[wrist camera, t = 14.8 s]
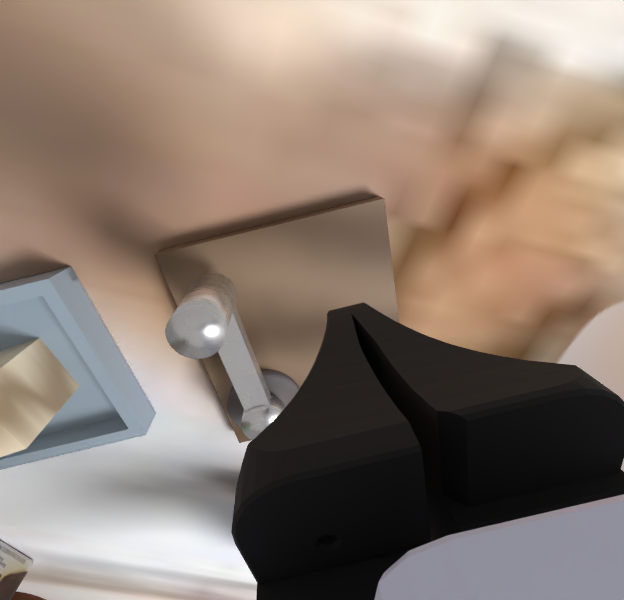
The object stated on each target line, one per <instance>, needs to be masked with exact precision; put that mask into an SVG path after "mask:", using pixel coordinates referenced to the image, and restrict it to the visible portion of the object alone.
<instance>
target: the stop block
mask: <svg viewBox="0 0 624 600" xmlns="http://www.w3.org/2000/svg"><path fill="white" fill-rule="evenodd" d="M78 388H79V385H78V383H77V382H76V381H75V380H74V379H73V377H72V376H71V375H70V374H69V372H68V371H67V370H66V369H65V368H64V366H63V365H62V364H61V363H60V362H59V360H58V359H57V358H56V357H55V356H54V354H53V353H52V352H51V351H50V349H49V348H48V347H47V346H46V345H45V343H44V342H43V341H42V340H41V339H40V338H37V339H34V340H31V341H29V342H26V343H23V344H20V345H17V346H14V347H11V348H8V349H5V350H2V351H0V457H3V456H6V455H9V454H12V453H15V452H18V451H21V450H24V449H27V448H28V446H29V445H30V444H31V443H32V442H33V440H34V439H35V438H36V437H37V436H38V435H39V433H40V432H41V431H42V430H43V429H44V428H45V426H46V425H47V424H48V423H49V422H50V420H51V419H52V418H53V417H54V416H55V415H56V413H57V412H58V411H59V410H60V409H61V408H62V406H63V405H64V404H65V403H66V402H67V400H68V399H69V398H70V397H71V396H72V395H73V393H74V392H75V391H76V390H77V389H78Z"/></svg>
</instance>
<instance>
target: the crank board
mask: <svg viewBox="0 0 624 600" xmlns="http://www.w3.org/2000/svg"><path fill="white" fill-rule="evenodd" d="M155 258H156V260H157V262H158V264H159V266H160V269H161V271H162V273H163V275H164V277H165V280H166V282H167V284H168V286H169V288H170V291H171V293H172V295H173V297H174V299H175V302H176V304H177V306H179V304H180V303H181V301H182V300H183V298H184V297H185V295H186V293H187V292H188V290H189V289H190V287H191V286H192V284H193V283H194V281H195V280H196V279H197V278H198V277H199V276H201V275H203V274H205V273H219V274H222V275H224V276H226V277H228V278H229V279H230V280H231V281H232V282H233V284H234V285H235V287H236V291H237V298H236V302H235V306H236V308H237V311H238V314H239V316H240V319H241V321H242V324H243V326H244V329H245V331H246V334H247V336H248V339H249V341H250V344H251V346H252V349H253V352H254V354H255V357H256V359H257V362H258V364H259V367H260V369H261V372H262V374H263V377H264V379H265V382H266V385H267V387H268V390H269V392H270V395H273V396H275V397H277V398H279V399H280V400H281V401H282V402H283V403H284V405H285V407H286V406H287V405H288V404H289V402H290V401H291V400H292V399H293V397H294V396H295V395H296V393H297V392H298V390H299V389H300V387H301V385H302V384H303V382H304V381H305V379H306V377H307V376H308V374H309V372H310V370H311V368H312V366H313V364H314V362H315V360H316V357H317V355H318V352H319V350H320V347H321V344H322V341H323V337H324V334H325V330H326V325H327V313H328V312H329V311H330V310H334V309H338V308H342V307H346V306H351V305H355V304H359V303H363V302H364V303H366V304H368V305H369V306H371V307H372V308H374V309H376V310H377V311H379V312H380V313H382V314H384V315H385V316H387V317H389V318H391V319H392V320H394V321H396V322H398V323H399V317H398V309H397V300H396V292H395V284H394V276H393V267H392V259H391V251H390V243H389V234H388V226H387V218H386V209H385V201H384V198H382V197H380V196H378V197H374V198H370V199H366V200H362V201H358V202H353V203H349V204H345V205H341V206H337V207H333V208H329V209H325V210H321V211H317V212H313V213H309V214H305V215H300V216H296V217H292V218H288V219H284V220H280V221H276V222H272V223H268V224H264V225H260V226H256V227H251V228H247V229H243V230H239V231H235V232H231V233H227V234H223V235H219V236H215V237H211V238H207V239H203V240H198V241H194V242H190V243H186V244H182V245H178V246H174V247H170V248H166V249H162V250H160V251H158V252H157V253H156V254H155ZM201 359H202V361H203V363H204V366H205V368H206V370H207V372H208V374H209V377H210V379H211V381H212V383H213V386H214V388H215V390H216V392H217V394H218V397H219V399H220V401H221V403H222V405H223V408H224V410H225V412H226V414H227V416H228V419H229V421H230V423H231V425H232V427H233V430H234V432H235V434H236V436H237V438H238V441H239V443H241V442H245V441H249V440H251V439H249V438H248V437H246V436H245V434H244V433H243V431H242V429H241V423H242V416H243V409H244V408H243V406H242V404H241V402H240V399H239V397H238V395H237V393H236V391H235V388H234V386H233V384H232V382H231V379H230V377H229V375H228V373H227V371H226V368H225V366H224V364H223V362H222V360H221V357H220V355H219V353H218V352H216V353H215V354H214V355H212V356H210V357H207V358H201Z"/></svg>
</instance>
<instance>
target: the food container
mask: <svg viewBox="0 0 624 600" xmlns="http://www.w3.org/2000/svg"><path fill="white" fill-rule="evenodd" d="M11 600H46V599H43V598H41V597H38V596H35V595H31V594H27V593H21V592H15V593H14V595H13V596H12V598H11Z"/></svg>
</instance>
